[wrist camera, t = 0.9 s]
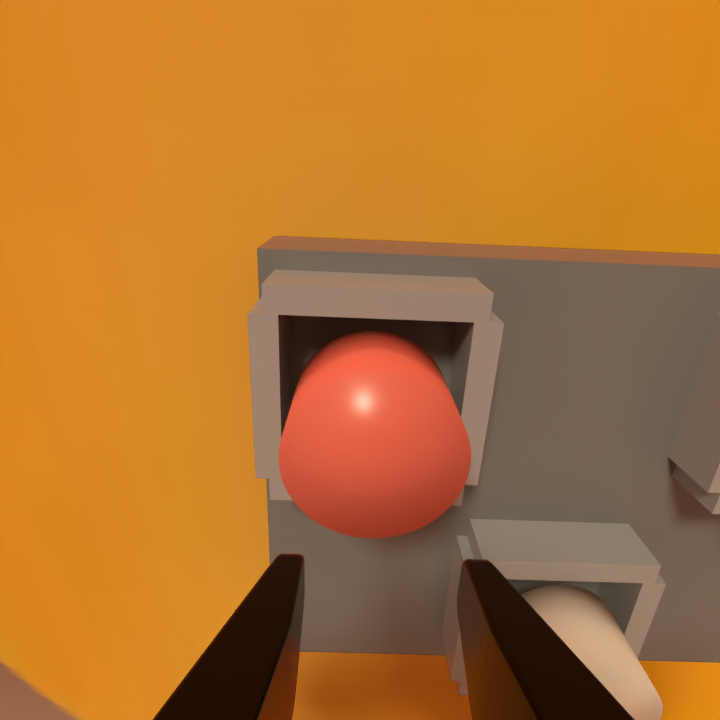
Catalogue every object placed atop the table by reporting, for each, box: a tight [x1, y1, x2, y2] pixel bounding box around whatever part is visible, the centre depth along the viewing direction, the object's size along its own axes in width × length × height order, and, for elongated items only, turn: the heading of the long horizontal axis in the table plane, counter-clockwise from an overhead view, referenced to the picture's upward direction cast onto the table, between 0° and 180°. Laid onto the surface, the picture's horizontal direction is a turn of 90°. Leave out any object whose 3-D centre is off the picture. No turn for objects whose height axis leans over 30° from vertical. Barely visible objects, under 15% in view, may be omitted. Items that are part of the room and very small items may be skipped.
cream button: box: [521, 585, 663, 720], centre depth 15 cm, size 4×4×3 cm
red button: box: [278, 331, 471, 538], centre depth 12 cm, size 4×4×3 cm
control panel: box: [248, 236, 720, 695], centre depth 17 cm, size 21×17×5 cm
